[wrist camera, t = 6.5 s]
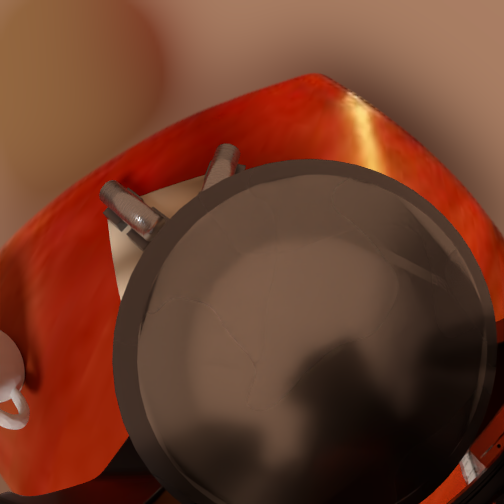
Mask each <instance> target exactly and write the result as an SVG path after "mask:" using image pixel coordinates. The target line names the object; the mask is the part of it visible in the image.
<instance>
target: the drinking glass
mask: <svg viewBox="0 0 504 504" xmlns="http://www.w3.org/2000/svg"><path fill="white" fill-rule="evenodd" d="M112 362H113V374H114V384H115V393H116V397H117V401H118V405H119V408H120V412H121V416H122V419H123V423H124V425H125V427H126V430H127V432H128V434H129V436H130V439H131V441H132V443H133V445H134V447H135V449H136V451H137V453H138V454H139V456H140V457H141V459H142V460H143V462H144V463H145V465H146V466H147V468H148V469H149V471H150V472H151V474H152V475H153V476H154V477H155V478H156V479H157V481H158V482H159V483H160V484H161V485H162V486H163V487H164V488H165V489H166V490H167V491H168V492H169V493H170V494H171V495H172V496H173V497H174V498H175V499H176V500H177V501H179V502H180V503H181V504H419V503H421V502H422V501H423V500H424V499H426V498H427V497H428V496H429V495H430V494H432V493H433V492H434V491H435V490H436V489H437V488H438V487H439V486H440V485H441V484H442V483H443V482H444V481H445V480H446V479H447V477H448V476H449V475H450V474H451V473H452V471H453V470H454V469H455V468H456V466H457V465H458V464H459V462H460V461H461V460H462V458H463V457H464V455H465V454H466V452H467V450H468V449H469V447H470V445H471V444H472V442H473V440H474V439H475V437H476V435H477V432H478V430H479V428H480V426H481V424H482V421H483V419H484V417H485V414H486V411H487V408H488V404H489V401H490V398H491V394H492V390H493V385H494V379H495V373H496V363H497V330H496V322H495V316H494V310H493V305H492V301H491V298H490V294H489V290H488V287H487V284H486V282H485V279H484V277H483V274H482V272H481V269H480V267H479V265H478V263H477V261H476V259H475V258H474V256H473V254H472V252H471V250H470V249H469V247H468V246H467V244H466V243H465V241H464V240H463V238H462V237H461V235H460V234H459V233H458V231H457V230H456V229H455V228H454V227H453V225H452V224H451V223H450V222H449V221H448V220H447V218H446V217H445V216H444V215H443V214H442V213H440V212H439V211H438V210H437V209H436V208H435V207H434V206H433V205H432V204H431V203H430V202H428V201H427V200H426V199H424V198H423V197H422V196H420V195H419V194H418V193H416V192H415V191H414V190H412V189H410V188H409V187H407V186H405V185H403V184H402V183H400V182H398V181H397V180H395V179H392V178H390V177H388V176H386V175H384V174H381V173H379V172H377V171H374V170H371V169H368V168H364V167H361V166H358V165H354V164H349V163H344V162H339V161H331V160H319V159H302V160H287V161H281V162H275V163H269V164H265V165H261V166H258V167H254V168H251V169H247V170H244V171H242V172H240V173H237V174H235V175H232V176H230V177H228V178H226V179H223V180H221V181H220V182H218V183H216V184H214V185H213V186H211V187H209V188H208V189H206V190H204V191H203V192H201V193H200V194H198V195H197V196H196V197H194V198H193V199H192V200H191V201H189V202H188V203H187V204H185V205H184V206H183V207H182V208H180V209H179V210H178V211H177V212H176V213H175V214H174V215H173V216H172V217H171V218H170V219H169V220H168V221H167V222H166V223H165V224H164V225H163V226H162V228H161V229H160V230H159V231H158V233H157V234H156V235H155V237H154V238H153V239H152V241H151V242H150V243H149V245H148V246H147V247H146V249H145V250H144V252H143V254H142V256H141V257H140V259H139V261H138V263H137V265H136V266H135V268H134V270H133V272H132V274H131V276H130V279H129V281H128V284H127V286H126V289H125V292H124V294H123V297H122V300H121V303H120V307H119V312H118V316H117V321H116V326H115V330H114V342H113V361H112Z"/></svg>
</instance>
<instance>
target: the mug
mask: <svg viewBox="0 0 504 504" xmlns="http://www.w3.org/2000/svg"><path fill="white" fill-rule="evenodd" d="M24 379H25V369H24V363H23V359H22V356H21V353H20V351H19V349H18V348H17V346H16V344H15V342H14V341H12V339H11V338H10V337H9V336H8V335H7V334H5V333H4V332H2V331H1V330H0V403H1V402H4V401H7V400H9V399H12V400H13V402H14V404H15V405H16V407H17V409H18V411H19V414H17V415H13V414H9V413H7V412H5V411H3V410H1V409H0V426H2V427H5V428H7V429H14V430H17V429H21V428H23V427H24V426H25V425H26V424H27V422H28V420H29V414H30V412H29V406H28V404H27V402H26V400H25V398H24V396H23V395H22V394H21V392H20V390H21V388H22V386H23V382H24Z"/></svg>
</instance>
